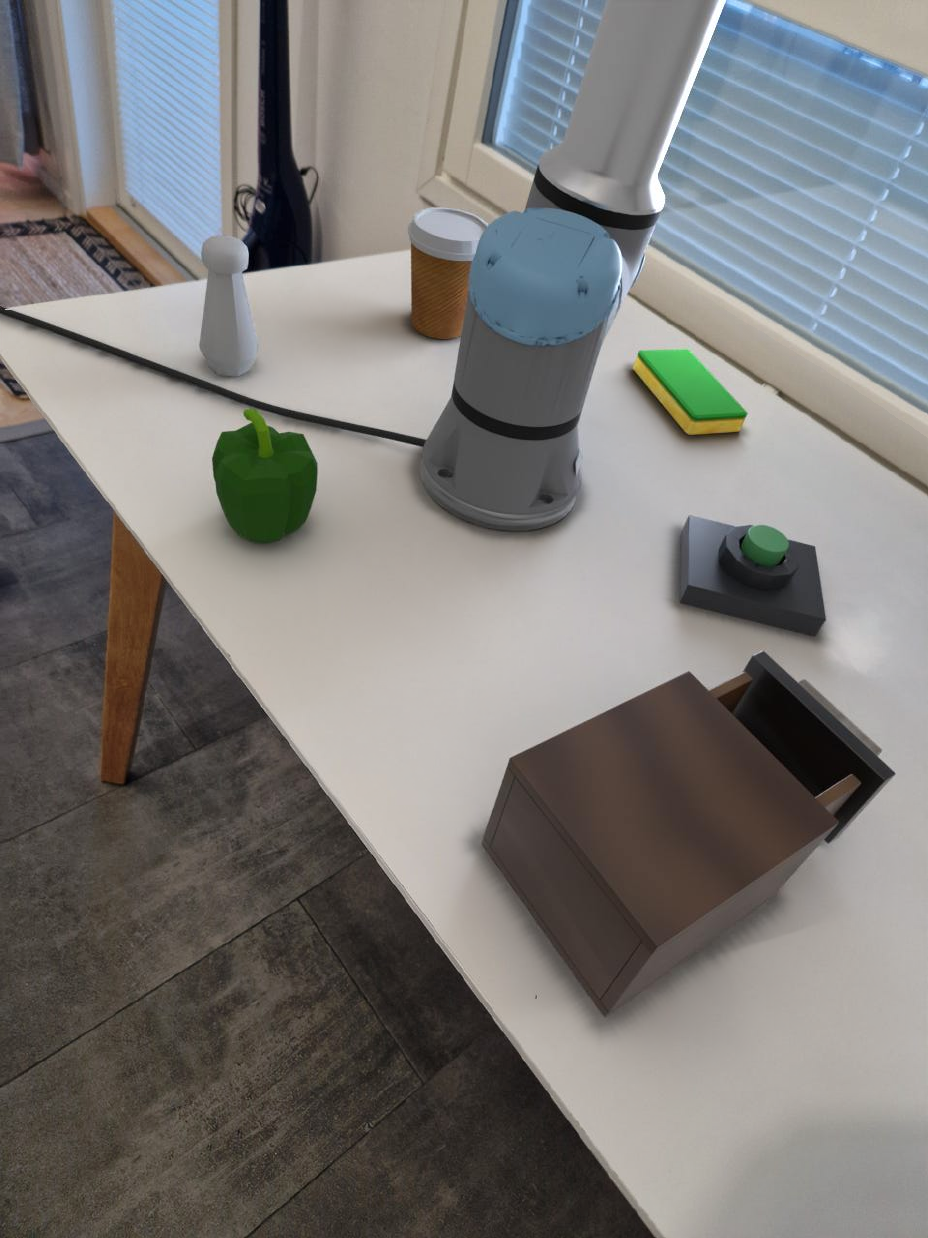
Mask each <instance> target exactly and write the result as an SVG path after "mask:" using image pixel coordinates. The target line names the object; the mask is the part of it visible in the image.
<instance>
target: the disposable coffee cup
mask: <svg viewBox="0 0 928 1238" xmlns="http://www.w3.org/2000/svg"><path fill="white" fill-rule="evenodd" d="M489 225H490V223H488V222H487V221H486V220H485V219H484V218H482V217H480V216H478V215H477V214H474V213H471V212H469V211H465V210H462V209H457V208H451V207H444V206H443V207H441V206H439V207H437V206H436V207H435V206H433V207H426V208H422V209H420V210H417V211H416V212H415V213H414V215H413V216H412V220H411V222H410V223H409V224H408V225H407V234H408V237H409V238H408V239H409V241H410V276H411V277H410V292H411V293H410V295H411V296H410V301H411V302H410V305H411V306H410V307H411V313H410V315H411V317H410V318H411V319H410V320H411V326H412V327H413V329H414V330H415V331H417V333H420V334H421V335H422V336H426V337H429V338H432V339H438V340H452V339H456V338H458V337H461V333H462V327H463V321H464V315H465V308H466V302H467V296H468V290H469V283H468V279H469V275H470V266H471V263H472V260H473V257H474V255H475V253H476V249H477V245H478V242H479V239H480V237H481V235H482V234H483V232H484V230H485V229H486V228H487V227H488V226H489Z"/></svg>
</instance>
